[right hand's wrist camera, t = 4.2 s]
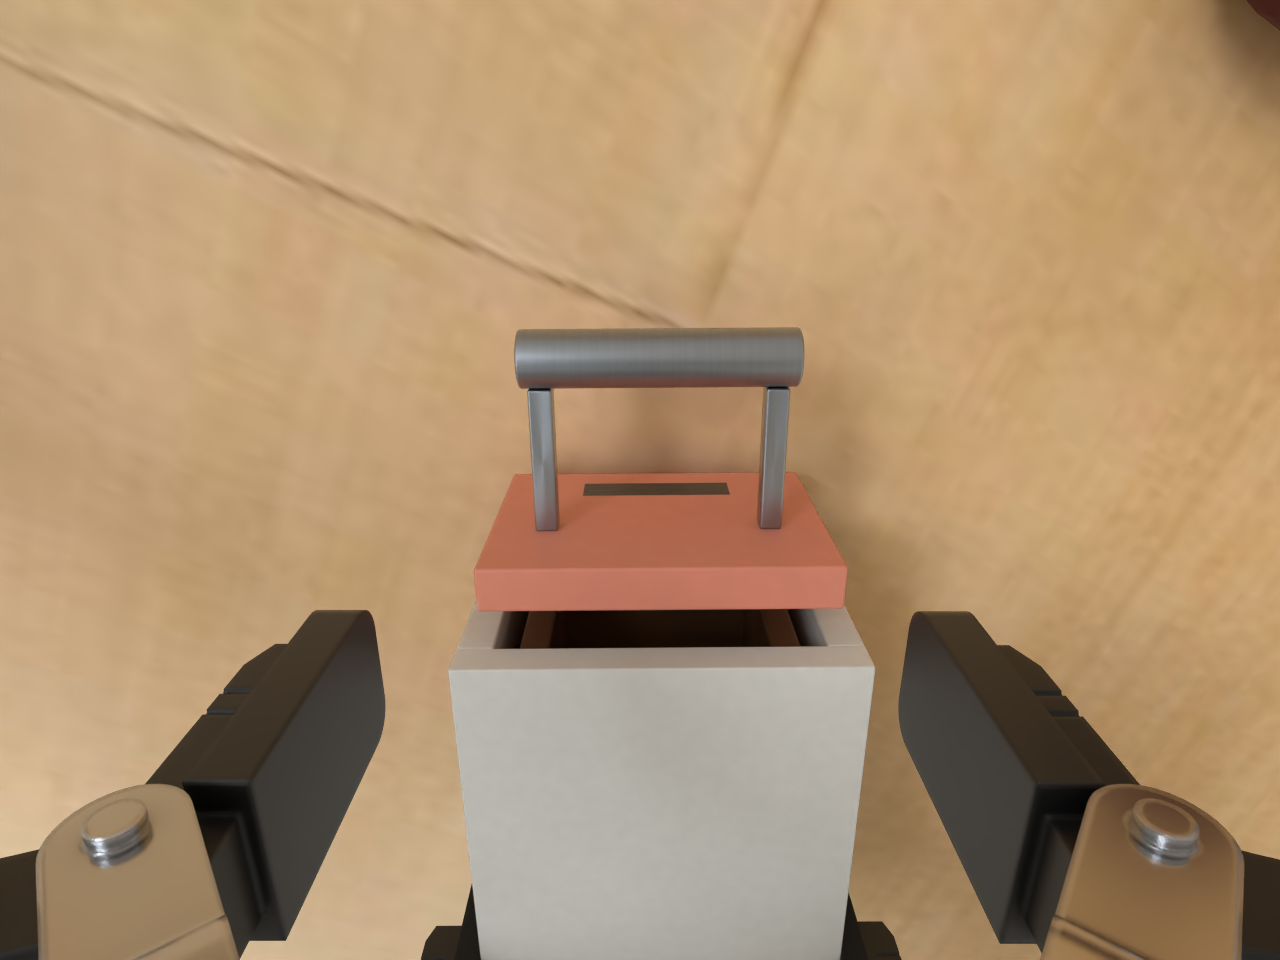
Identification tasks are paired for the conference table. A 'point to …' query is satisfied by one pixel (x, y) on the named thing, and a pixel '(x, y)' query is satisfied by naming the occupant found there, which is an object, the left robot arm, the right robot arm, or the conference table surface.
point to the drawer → (659, 508)
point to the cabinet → (661, 793)
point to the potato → (1268, 10)
